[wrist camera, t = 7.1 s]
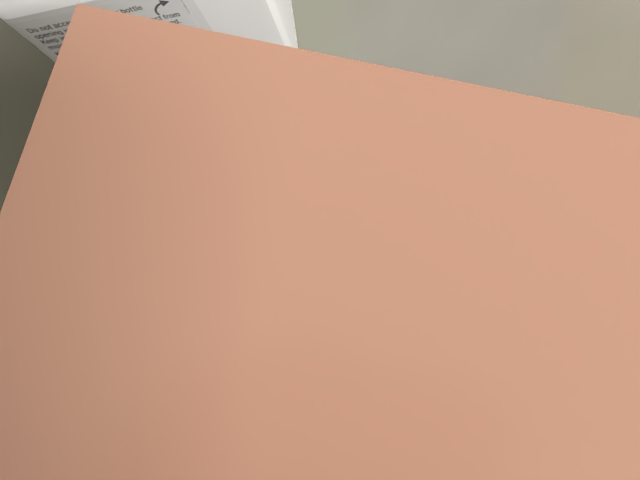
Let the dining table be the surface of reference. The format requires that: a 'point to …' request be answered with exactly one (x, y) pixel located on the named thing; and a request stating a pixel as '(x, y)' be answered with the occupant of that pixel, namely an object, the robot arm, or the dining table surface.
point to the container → (161, 4)
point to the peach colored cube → (312, 271)
